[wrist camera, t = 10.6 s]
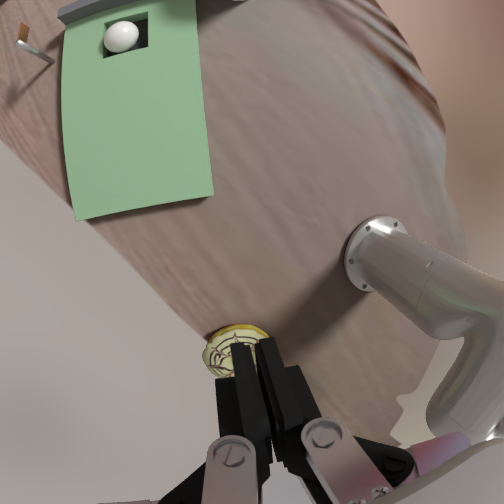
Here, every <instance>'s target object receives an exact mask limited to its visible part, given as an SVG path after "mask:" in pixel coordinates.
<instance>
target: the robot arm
mask: <svg viewBox="0 0 504 504" xmlns="http://www.w3.org/2000/svg"><path fill="white" fill-rule="evenodd" d="M344 266H345V271H346V275H347V277H348V279H349V280H350V282H351V283H352V284H353V285H354V286H356V287H357V288H358V289H360V290H362V291H367V292H374V291H377V292H378V293H379V294H381V295H382V296H383V297H384V298H385V299H386V300H388V301H389V302H390V303H391V304H392V305H394V306H395V307H396V308H397V309H398V310H399V311H400V312H402V313H403V314H404V315H405V316H406V317H407V318H409V319H410V320H411V321H412V322H413V323H414V324H415V325H416V326H418V327H419V328H420V329H421V330H422V331H423V332H424V333H426V334H427V335H428V336H430V337H432V338H434V339H437V340H451V339H456V338H460V337H464V338H465V340H464V344H463V347H462V348H461V350H460V352H459V354H458V357H457V358H456V360H455V362H454V363H453V365H452V367H451V368H450V370H449V371H448V373H447V375H446V376H445V378H444V379H443V381H442V382H441V383H440V385H439V387H438V388H437V389H436V391H435V392H434V394H433V396H432V397H431V399H430V401H429V403H428V406H427V409H426V422H427V425H428V427H429V429H430V431H431V432H432V433H433V435H434V436H435V437H436V438H434V439H432V440H428V441H425V442H421V443H418V444H415V445H411V447H410V448H407V449H401V448H398V447H393V446H389V445H385V444H381V443H377V442H374V441H370V440H366V439H363V438H359V437H356V436H353V435H351V433H350V432H349V431H348V429H347V428H346V427H345V425H344V424H343V423H341V422H340V421H339V420H336V419H334V418H329V417H322V416H321V413H320V411H319V409H318V407H317V404H316V402H315V400H314V398H313V395H312V393H311V391H310V389H309V386H308V384H307V382H306V380H305V377H304V375H303V373H302V371H301V369H300V367H299V366H298V365H296V366H291V367H286V368H285V367H284V364H283V362H282V359H281V356H280V354H279V351H278V348H277V346H276V343H275V340H274V338H273V337H268V338H262V339H259V343H255V344H254V349H255V359H256V367H255V363H254V359H253V355H252V351H251V347H250V344H248V345H244V342H237V343H230V349H231V356H232V363H233V370H234V376H233V377H226V378H218V379H215V387H216V399H217V411H218V422H219V432H220V438H219V439H217V440H216V441H214V442H213V443H212V444H211V445H210V447H209V449H208V452H207V459H206V462H205V463H204V464H203V465H201V466H200V467H199V468H198V469H197V470H196V471H195V472H193V473H192V474H191V475H190V476H189V477H188V478H186V479H185V480H184V481H183V482H182V483H180V484H179V485H178V486H177V487H175V488H174V489H173V490H172V491H170V492H169V493H168V494H167V495H165V496H164V497H163V498H162V499H161V500H157V501H150V500H142V501H132V502H117V503H99V504H263V493H262V485H263V483H264V482H265V481H266V480H267V479H268V478H269V477H270V467H269V464H271V463H273V458H272V444H273V448H274V452H275V456H276V459H277V462H281V461H283V464H284V467H287V468H288V472H290V473H292V474H294V475H297V476H298V478H299V480H300V482H301V484H302V486H303V488H304V489H305V491H306V493H307V495H308V497H309V498H310V500H311V502H312V504H504V281H502V280H499V279H496V278H494V277H492V276H490V275H487V274H485V273H483V272H481V271H479V270H477V269H475V268H473V267H471V266H469V265H468V264H466V263H464V262H462V261H460V260H458V259H456V258H454V257H452V256H450V255H448V254H446V253H444V252H442V251H440V250H438V249H436V248H434V247H432V246H430V245H428V244H426V243H425V241H424V240H422V241H420V240H418V239H416V238H413V237H411V236H409V235H408V234H407V231H406V229H405V227H404V226H403V224H402V223H401V222H400V221H398V220H397V219H395V218H393V217H390V216H386V215H378V216H374V217H371V218H369V219H368V220H366V221H364V222H363V223H362V224H361V225H360V226H359V227H358V228H357V229H356V230H355V231H354V233H353V234H352V236H351V238H350V239H349V242H348V244H347V247H346V251H345V256H344ZM256 368H257V371H256ZM271 440H272V444H271Z"/></svg>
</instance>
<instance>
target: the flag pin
mask: <svg viewBox="0 0 504 504" xmlns="http://www.w3.org/2000/svg"><path fill="white" fill-rule="evenodd" d="M28 31H29V27H28V26H26V25H25V24H23V23H21V24H20V28H19V33H18V38H17V41H16V42H15V45H16V46H18V47H20V48H22V49H24V50H26V51H27V52H29V53H31V54H33V55H35V56H37V57H39V58H41V59H43V60H44V61H46V62H48V63H50V64H54V62H55V60H54V59H53V58H51V57H49V56H48V55H46V54H44V53H42V52H41V51H39V50H37V49H36V48H34V47H32V46H30V45H29V44H27V37H28Z"/></svg>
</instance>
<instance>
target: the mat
mask: <svg viewBox="0 0 504 504" xmlns="http://www.w3.org/2000/svg"><path fill="white" fill-rule="evenodd" d="M57 18H58V19H60V20H61V21H62V22H63V23H64V24H65V25H66V28H65V36H64V45H63V57H62V77H61V109H62V130H63V142H64V153H65V161H66V169H67V176H68V183H69V189H70V195H71V200H72V205H73V210H74V215H75V220H76V221H80V220H85V219H89V218H93V217H98V216H102V215H107V214H112V213H117V212H121V211H126V210H131V209H136V208H142V207H147V206H152V205H158V204H163V203H169V202H175V201H181V200H187V199H193V198H200V197H206V196H213V195H214V191H213V184H212V176H211V167H210V159H209V150H208V142H207V132H206V123H205V114H204V104H203V93H202V83H201V71H200V60H199V47H198V34H197V19H196V2H195V0H79V1H77V2H74V3H72V4H69V5H67V6H65V7H63V8H60V9H59V11H58V17H57ZM121 21H128V22H131V23H133V24H135V25H136V27H137V28H138V32H139V36H138V39H137V42H136V43H135V44H134V46H133V47H131V48H130V49H129V50H127V51H124V52H121V53H115V52H111V51H109V50H108V49H107V48H106V47H105V45H104V35H105V33H106V31H107V30H108V28H109V27H110V26H112V25H113V24H115V23H117V22H121Z"/></svg>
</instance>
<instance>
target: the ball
mask: <svg viewBox="0 0 504 504" xmlns="http://www.w3.org/2000/svg"><path fill="white" fill-rule="evenodd" d="M138 36H139V32H138V28H137V27H136V25H135V24H133V23H131V22H128V21H121V22H117V23H115V24H113V25H112V26H110V27H109V28H108V30H107V31H106V33H105V35H104V45H105V47H106V48H107V49H108V50H109V51H111V52H115V53H121V52H124V51H127V50H129V49H130V48H131V47H133V46H134V44H135V43H136V42H137V39H138Z"/></svg>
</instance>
